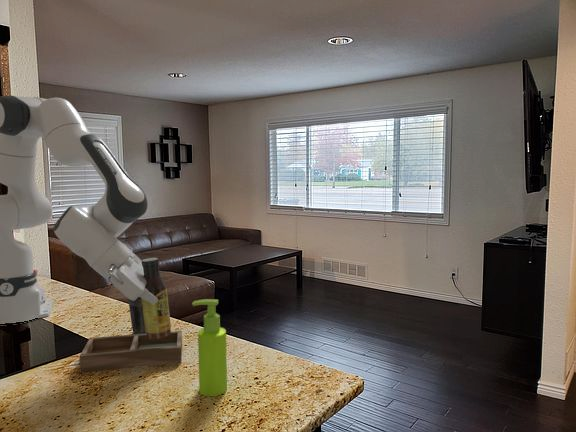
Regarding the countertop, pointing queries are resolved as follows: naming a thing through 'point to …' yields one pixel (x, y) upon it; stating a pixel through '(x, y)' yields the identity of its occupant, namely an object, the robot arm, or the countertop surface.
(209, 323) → the soap dispenser
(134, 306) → the beverage cup
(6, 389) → the countertop surface
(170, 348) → the caddy
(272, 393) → the countertop surface
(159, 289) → the sauce bottle
